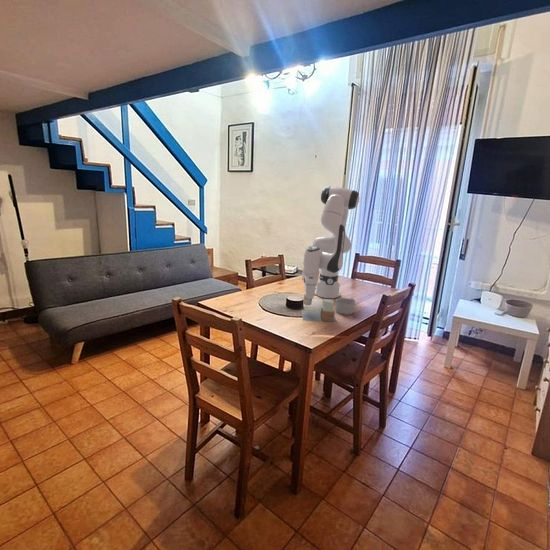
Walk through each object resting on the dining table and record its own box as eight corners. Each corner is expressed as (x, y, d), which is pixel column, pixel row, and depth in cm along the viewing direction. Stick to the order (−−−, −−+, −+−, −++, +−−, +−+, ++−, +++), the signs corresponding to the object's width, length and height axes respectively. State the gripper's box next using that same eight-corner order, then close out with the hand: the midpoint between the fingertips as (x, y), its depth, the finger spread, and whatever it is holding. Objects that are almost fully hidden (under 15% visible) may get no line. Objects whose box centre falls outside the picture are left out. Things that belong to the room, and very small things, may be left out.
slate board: (300, 312, 184) (300, 310, 183) (332, 314, 184) (333, 312, 184) (302, 322, 170) (302, 320, 170) (337, 324, 170) (337, 322, 170)
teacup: (344, 318, 179) (346, 304, 177) (330, 312, 187) (331, 298, 185) (361, 314, 187) (363, 301, 185) (347, 308, 195) (348, 295, 193)
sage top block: (322, 308, 175) (323, 299, 174) (331, 308, 175) (332, 299, 174) (323, 311, 170) (324, 302, 169) (333, 312, 170) (334, 302, 169)
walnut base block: (320, 316, 177) (321, 307, 175) (331, 317, 177) (332, 308, 176) (321, 320, 171) (322, 311, 170) (333, 321, 171) (334, 312, 170)
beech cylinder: (303, 301, 182) (304, 293, 181) (311, 302, 182) (312, 294, 181) (303, 304, 178) (304, 296, 177) (311, 305, 178) (312, 296, 177)
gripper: (303, 271, 186) (301, 294, 190) (305, 281, 166) (302, 307, 170) (314, 272, 186) (312, 295, 190) (317, 282, 166) (314, 308, 170)
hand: (307, 300), depth 180 cm, fingers closed on beech cylinder, 4 cm apart
